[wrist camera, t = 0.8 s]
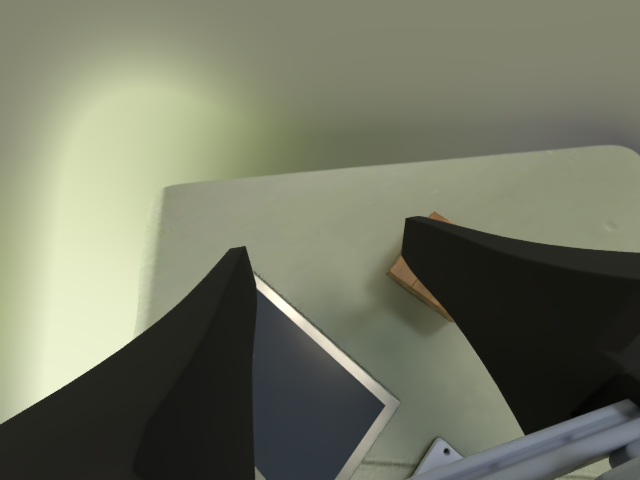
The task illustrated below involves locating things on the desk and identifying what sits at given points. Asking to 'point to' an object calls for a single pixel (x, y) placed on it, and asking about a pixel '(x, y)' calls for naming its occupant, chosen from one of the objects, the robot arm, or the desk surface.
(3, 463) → the robot arm
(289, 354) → the tablet
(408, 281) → the pen stand
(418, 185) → the desk surface
